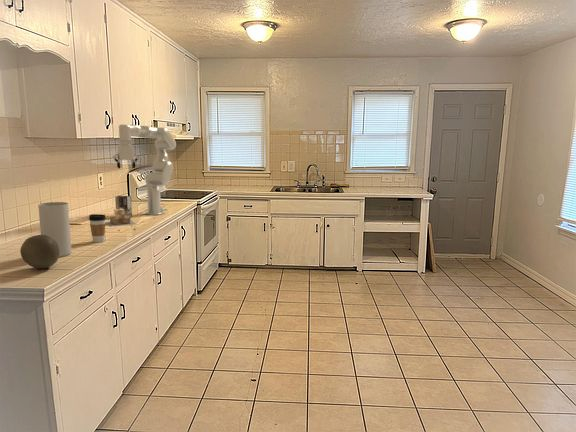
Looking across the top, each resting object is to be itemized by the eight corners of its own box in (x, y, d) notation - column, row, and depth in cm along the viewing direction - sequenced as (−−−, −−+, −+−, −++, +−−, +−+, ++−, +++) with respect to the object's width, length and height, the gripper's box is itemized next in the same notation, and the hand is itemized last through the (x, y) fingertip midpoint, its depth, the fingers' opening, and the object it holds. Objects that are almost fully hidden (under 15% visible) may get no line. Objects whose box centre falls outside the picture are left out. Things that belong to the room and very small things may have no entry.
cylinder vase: (64, 249, 213) (61, 201, 208) (76, 254, 205) (72, 204, 201) (38, 254, 203) (34, 203, 199) (48, 259, 195) (44, 206, 191)
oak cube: (122, 216, 278) (122, 208, 278) (124, 217, 274) (124, 209, 274) (114, 216, 275) (114, 209, 275) (116, 217, 272) (116, 210, 271)
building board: (129, 221, 287) (129, 219, 287) (137, 226, 274) (137, 224, 274) (103, 224, 277) (103, 222, 277) (109, 228, 264) (109, 226, 264)
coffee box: (132, 218, 302) (131, 195, 299) (128, 219, 295) (127, 197, 293) (120, 217, 303) (119, 195, 300) (115, 219, 296) (114, 196, 293)
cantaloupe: (34, 264, 188) (31, 231, 185) (66, 264, 189) (64, 232, 186) (15, 273, 174) (12, 238, 172) (50, 274, 175) (47, 239, 172)
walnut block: (125, 221, 282) (125, 215, 282) (130, 223, 274) (129, 217, 274) (110, 222, 276) (109, 216, 276) (114, 225, 268) (113, 219, 268)
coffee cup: (90, 240, 234) (89, 213, 231) (106, 239, 237) (105, 213, 235) (90, 243, 226) (88, 216, 224) (107, 242, 230) (105, 215, 227)
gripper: (136, 143, 293) (137, 167, 296) (110, 142, 283) (111, 168, 286) (140, 143, 287) (140, 168, 290) (113, 142, 277) (114, 168, 280)
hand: (126, 168), depth 288 cm, fingers open, 9 cm apart
